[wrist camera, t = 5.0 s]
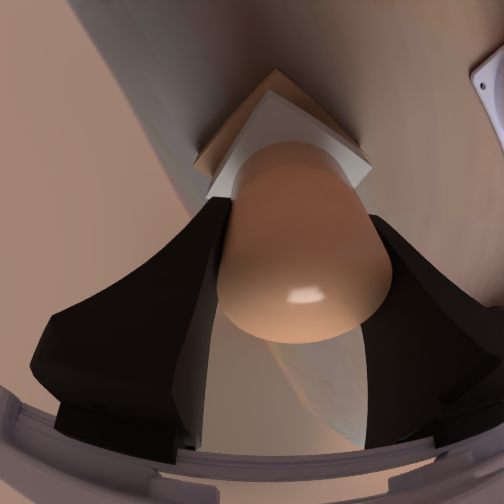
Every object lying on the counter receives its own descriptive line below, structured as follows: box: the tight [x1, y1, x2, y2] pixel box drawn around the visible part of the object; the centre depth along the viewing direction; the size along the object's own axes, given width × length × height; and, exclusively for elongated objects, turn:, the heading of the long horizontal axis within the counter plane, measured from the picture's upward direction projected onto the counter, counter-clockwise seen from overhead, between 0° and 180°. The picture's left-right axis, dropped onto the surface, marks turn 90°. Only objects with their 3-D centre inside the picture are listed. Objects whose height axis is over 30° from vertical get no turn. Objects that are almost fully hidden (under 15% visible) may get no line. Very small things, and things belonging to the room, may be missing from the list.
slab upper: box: [205, 89, 373, 199], centre depth 14 cm, size 6×6×2 cm
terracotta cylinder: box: [217, 141, 392, 343], centre depth 9 cm, size 5×5×5 cm
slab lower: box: [193, 68, 369, 179], centre depth 15 cm, size 6×6×2 cm
